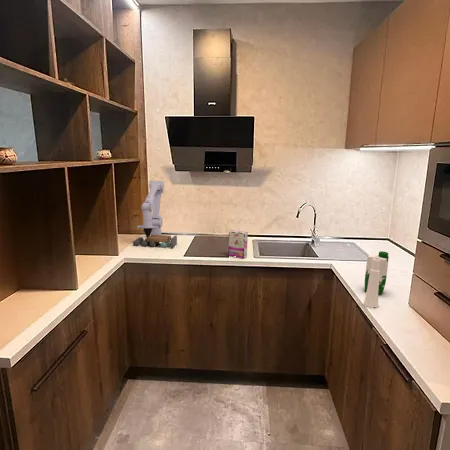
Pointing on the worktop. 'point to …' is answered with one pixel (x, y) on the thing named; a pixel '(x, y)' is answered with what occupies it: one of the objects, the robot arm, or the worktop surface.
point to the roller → (164, 244)
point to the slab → (159, 238)
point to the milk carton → (382, 268)
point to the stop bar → (173, 242)
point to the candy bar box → (238, 243)
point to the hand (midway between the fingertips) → (148, 238)
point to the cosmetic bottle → (373, 284)
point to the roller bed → (146, 242)
